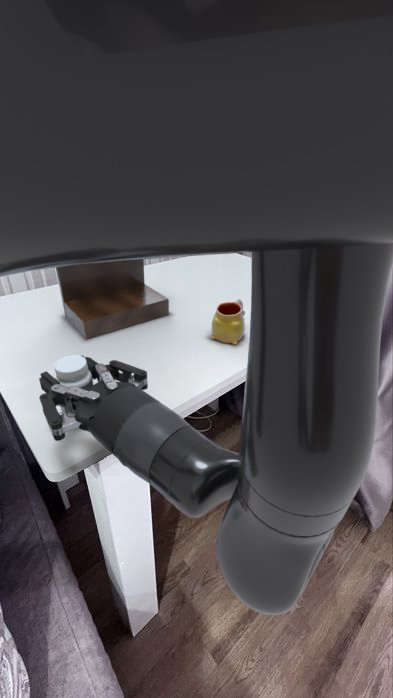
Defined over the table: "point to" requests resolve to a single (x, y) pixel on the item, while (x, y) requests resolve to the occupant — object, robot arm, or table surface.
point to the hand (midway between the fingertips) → (62, 369)
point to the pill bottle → (73, 374)
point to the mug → (229, 322)
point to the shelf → (108, 296)
